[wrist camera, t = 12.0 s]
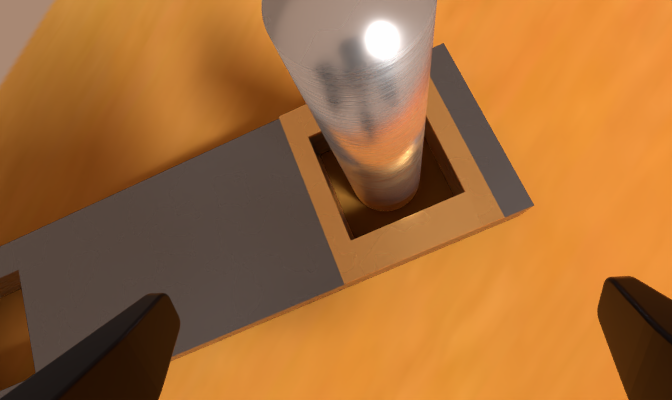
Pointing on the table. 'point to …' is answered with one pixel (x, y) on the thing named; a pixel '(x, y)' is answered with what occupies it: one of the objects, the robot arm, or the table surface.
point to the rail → (250, 230)
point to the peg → (362, 84)
